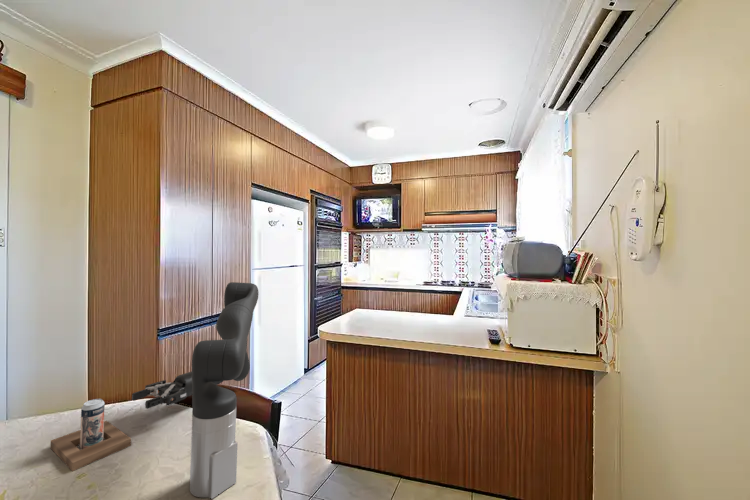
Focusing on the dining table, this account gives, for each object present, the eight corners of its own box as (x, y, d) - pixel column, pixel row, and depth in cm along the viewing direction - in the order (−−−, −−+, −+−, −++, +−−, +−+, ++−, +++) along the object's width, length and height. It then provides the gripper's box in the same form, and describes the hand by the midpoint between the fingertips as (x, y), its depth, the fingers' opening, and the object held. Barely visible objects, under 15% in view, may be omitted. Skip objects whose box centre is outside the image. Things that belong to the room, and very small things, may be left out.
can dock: (130, 445, 87) (131, 438, 87) (72, 471, 76) (72, 462, 76) (106, 427, 95) (106, 420, 95) (50, 447, 85) (50, 440, 85)
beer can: (82, 454, 82) (83, 408, 82) (77, 447, 85) (79, 402, 85) (105, 445, 86) (107, 401, 86) (100, 439, 89) (102, 396, 89)
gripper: (182, 367, 113) (128, 382, 99) (205, 376, 105) (151, 394, 91) (181, 388, 113) (127, 406, 99) (205, 399, 105) (150, 420, 91)
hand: (139, 401), depth 95 cm, fingers open, 8 cm apart
